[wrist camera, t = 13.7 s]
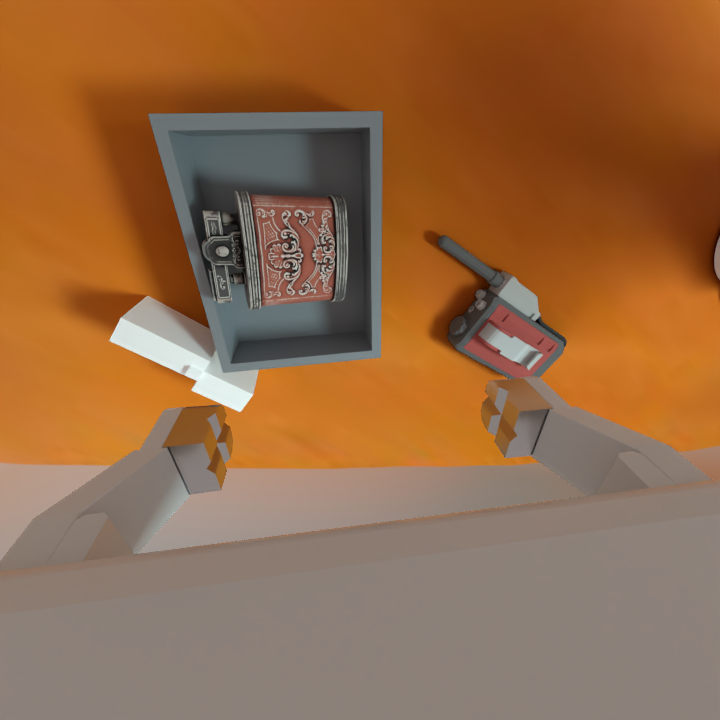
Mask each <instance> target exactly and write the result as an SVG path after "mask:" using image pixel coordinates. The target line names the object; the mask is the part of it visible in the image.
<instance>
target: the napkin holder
mask: <svg viewBox="0 0 720 720" xmlns="http://www.w3.org/2000/svg"><path fill="white" fill-rule="evenodd" d="M109 341H111V342H113V343H115V344H117V345H120V346H122V347H124V348H126V349H128V350H130V351H133V352H135V353H137V354H139V355H141V356H144V357H146V358H148V359H150V360H152V361H154V362H157V363H159V364H161V365H163V366H165V367H167V368H170V369H172V370H174V371H176V372H178V373H181V374H183V375H185V376H187V377H189V378H191V379H194V380H196V382H195V384H194V386H193V388H192V391H194V392H196V393H198V394H201V395H203V396H205V397H207V398H210V399H212V400H214V401H216V402H219V403H221V404H223V405H225V406H228V407H230V408H232V409H234V410H237V411H239V412H241V410H242V409H243V408H244V406H245V405H246V404H247V402H248V401H249V400H250V398H251V397H252V396H253V393H254V389H255V384H256V380H257V375H258V371H259V370H249V371H239V372H229V373H223V371H222V368H221V364H220V361H219V357H218V354H217V350H216V347H215V343H214V340H213V336H212V333H211V330H210V329H209V328H207V327H205V326H203V325H202V324H200V323H198V322H196V321H194V320H192V319H190V318H189V317H187V316H185V315H183V314H181V313H179V312H177V311H176V310H174V309H172V308H170V307H168V306H166V305H164V304H163V303H161V302H159V301H157V300H155V299H153V298H151V297H149V296H146V297H145V298H144V299H143V300H142V301H140V302H139V303H138V304H137V305H135V306H134V307H133V308H132V309H131V310H129V311H128V312H127V313H126V314H125V315H123V316H122V317H121V319H120V320H119V322H118V324H117V326H116V328H115V330H114V332H113V334H112V336H111V338H110V340H109Z"/></svg>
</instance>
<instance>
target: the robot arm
mask: <svg viewBox="0 0 720 720" xmlns="http://www.w3.org/2000/svg"><path fill="white" fill-rule="evenodd" d="M714 267H715V272H716V275H717V277H718V278H719V280H720V237H719V240H718V243H717V246H716V250H715V257H714ZM485 392H486V394H487V395H488V397H487V398H486V399H485V401H484V402H483V403H482V408H481V416H482V421H483V424H484V426H485V428H486V429H487V431H488V432H490V433H492V434H493V435H495V436H496V437H495V441H494V442H495V443H496V445H497V446H498V448H499V449H500V451H501V452H502V454H503V455H504V457H505V458H510V457H521V456H532V457H533V458H534V459H536V460H537V461H538V462H540V463H541V464H543V465H544V466H546V467H547V468H548V469H550V470H551V471H553V472H554V473H556V474H557V475H558V476H560V477H561V478H563V479H564V480H566V481H567V482H568V483H570V484H572V485H573V486H574V487H576V488H577V489H579V490H580V491H581V492H583V493H584V494H586V495H587V496H584V497H577V498H568V499H561V500H553V501H545V502H538V503H529V504H522V505H513V506H506V507H498V508H490V509H483V510H475V511H467V512H459V513H452V514H444V515H436V516H428V517H421V518H413V519H405V520H397V521H389V522H382V523H374V524H366V525H358V526H351V527H343V528H335V529H327V530H320V531H312V532H304V533H296V534H288V535H281V536H274V537H265V538H258V539H249V540H242V541H235V542H226V543H218V544H211V545H204V546H195V547H187V548H180V549H172V550H165V551H156V552H149V553H141V554H138V553H139V551H140V550H141V549H142V548H143V547H144V546H145V545H146V544H147V543H148V541H149V540H150V539H151V538H152V537H153V536H154V535H155V534H156V533H157V532H158V531H159V529H160V528H161V527H162V526H163V525H164V524H165V523H166V522H167V521H168V519H169V518H170V517H171V516H172V515H173V514H174V513H175V512H176V511H177V510H178V508H179V507H180V506H181V505H182V504H183V503H184V502H185V500H187V499H188V497H189V495H190V494H197V493H204V492H211V491H218V490H221V489H222V486H223V482H224V479H225V475H226V472H227V470H226V467H225V463H226V462H227V461H228V460H229V459H230V457H231V453H232V445H233V439H232V432H231V429H230V426H228V425H227V424H225V423H224V421H225V418H226V413H225V410H224V407H223V406H222V405H208V406H194V407H185V408H184V407H181V408H169V409H166V410H164V411H163V412H162V414H161V416H160V417H159V419H158V421H157V422H156V424H155V426H154V427H153V429H152V431H151V432H150V434H149V435H148V437H147V439H146V440H145V442H144V444H143V445H142V447H141V449H140V450H137V451H133V452H131V453H130V454H128V455H127V456H125V457H124V458H122V459H121V460H120V461H118V462H117V463H115V464H114V465H112V466H111V467H109V468H108V469H106V470H105V471H103V472H102V473H100V474H99V475H97V476H96V477H95V478H93V479H92V480H90V481H89V482H87V483H86V484H84V485H83V486H81V487H80V488H78V489H77V490H75V491H74V492H72V493H71V494H69V495H68V496H66V497H65V498H64V499H62V500H61V501H59V502H58V503H56V504H55V505H53V506H52V507H50V508H49V509H47V510H46V511H44V512H43V513H41V514H40V515H38V516H37V517H36V518H34V519H33V520H32V521H31V523H30V524H29V525H28V526H27V528H26V529H25V530H24V532H23V533H22V534H21V536H20V537H19V538H18V539H17V541H16V542H15V543H14V544H13V546H12V547H11V548H10V549H9V551H8V552H7V553H6V555H5V556H4V557H3V558H2V560H1V561H0V720H720V479H716V480H712V479H711V478H709V477H708V476H707V475H706V474H704V473H703V472H702V471H701V470H699V469H698V468H697V467H696V466H694V465H693V464H692V463H691V462H689V461H688V460H687V459H686V458H684V457H683V456H682V455H681V454H679V453H678V452H677V451H676V450H674V449H673V448H672V447H671V446H669V445H667V444H664V443H662V442H659V441H657V440H655V439H652V438H650V437H647V436H645V435H643V434H640V433H638V432H635V431H633V430H631V429H628V428H626V427H623V426H621V425H619V424H616V423H614V422H611V421H609V420H607V419H604V418H602V417H599V416H597V415H595V414H592V413H590V412H587V411H585V410H583V409H580V408H578V407H570V406H569V405H568V404H567V403H566V402H565V401H564V400H563V399H562V398H561V397H560V396H559V395H558V394H557V393H556V392H555V391H553V390H552V389H551V388H550V387H549V386H548V385H547V384H546V383H545V382H544V381H543V380H542V379H541V378H539V377H537V376H529V377H520V378H516V379H505V380H494V381H489V382H488V384H487V385H486V390H485Z"/></svg>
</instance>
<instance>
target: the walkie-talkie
mask: <svg viewBox="0 0 720 720" xmlns="http://www.w3.org/2000/svg"><path fill="white" fill-rule="evenodd" d="M438 245H439V246H440V247H441V248H442V249H444V250H445V251H447V252H448V253H449V254H451V255H452V256H454V257H455V258H456V259H458V260H459V261H461V262H462V263H464V264H465V265H466V266H468V267H469V268H471V269H472V270H473V271H475V272H476V273H478V274H479V275H480V276H482V277H483V278H485V279H486V282H488V283H489V284H491V286H490V287H489V288H488V289H486V290H481V289H479V290H478V291H476V293H475V296H476V297H477V298H476V300H475V301H474V302H473V303H472V305H471V306H470V307H469V309H468V310H467V311H466V312H465V314H464V315H463V316H458V317H456V318H455V319H454V320H453V321H452V322H451V324H450V327H449V332H450V333H449V334H448V335H447V337H448V340H449V341H450V342H451V343H452V344H453V347H454V348H455V349H456V350H458V351H459V352H461V353H464V354H466V355H468V356H469V357H470V358H472V359H474V360H475V361H478V362H480V363H482V364H484V365H485V366H486V365H487V366H488V367H489V368H491V369H492V370H493V369H494V370H495V371H497V372H498V373H501V375H504V376H505V377H507V378H508V379H516V378H520V377H529V376H537V377H540V376H541V375H542V374H543V373H544V372H545V371H546V370H547V369H548V368H549V367H550V366H551V365H552V364H553V363H554V362H555V361H556V360H557V359H558V358H559V357H560V356H561V355H562V353H563V351H564V347H565V346H566V343H567V341H566V339H565V338H564V337H563V336H561V335H560V334H559V333H557V332H556V331H554V330H553V329H552V328H550V327H549V326H547V325H546V324H545V323H543V322H542V320H541V317H540V315H541V314H540V313H539V310H538V298H537V296H536V295H535V294H534V293H532V292H531V291H530V290H528V289H527V288H526V287H524V286H523V285H522V284H520V283H519V282H518V280H517V278H515V277H514V276H513V275H511V274H509V273H507V272H505V271H502V272H501V273H499V272H498V271H496V270H492V269H491V268H490V267H488V266H487V265H485V264H484V263H483V262H481V261H480V260H479V259H477V258H476V257H475V256H473V255H472V254H470V253H469V252H468V251H466V250H465V249H464V248H462V247H461V246H460V245H458V244H457V243H455V242H454V241H453V240H451V239H450V238H449V237H447V236H445V235H444V236H441V237H439V239H438ZM535 320H536V322H537V323H536V322H535Z"/></svg>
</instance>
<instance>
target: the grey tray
mask: <svg viewBox="0 0 720 720" xmlns="http://www.w3.org/2000/svg"><path fill="white" fill-rule="evenodd" d="M148 116H149V119H150V123H151V126H152V130H153V133H154V137H155V140H156V144H157V147H158V150H159V154H160V157H161V161H162V164H163V168H164V171H165V175H166V178H167V181H168V185H169V188H170V192H171V195H172V199H173V202H174V206H175V209H176V212H177V216H178V219H179V223H180V226H181V230H182V233H183V237H184V240H185V243H186V247H187V250H188V254H189V257H190V261H191V264H192V268H193V271H194V274H195V278H196V281H197V285H198V288H199V292H200V295H201V299H202V302H203V305H204V309H205V312H206V316H207V319H208V323H209V326H210V330H211V333H212V336H213V340H214V343H215V347H216V350H217V354H218V357H219V361H220V364H221V368H222V371H223V373H229V372H239V371H249V370H259V369H269V368H279V367H290V366H300V365H310V364H320V363H330V362H340V361H350V360H361V359H371V358H381V274H382V151H383V111H348V112H261V113H175V114H148ZM234 191H247V192H248V194H254V195H279V196H304V197H327V196H328V195H340V196H342V197H343V198H344V200H345V203H346V209H347V227H348V265H347V281H346V291H345V297H344V299H343V300H342V301H335V302H331V301H329V300H323V301H313V302H302V303H291V304H281V305H270V306H261V308H260V309H253V310H250V309H249V307H248V304H247V300H246V295H245V288H244V284H235V285H234V283H230V289H231V296H232V302H227V303H218V302H217V301H214V299H213V293H212V287H211V281H210V275H209V269H212V266H211V261H209V260H207V259H206V258H205V256H204V254H203V250H202V242H203V241H204V240H205V239H206V238H207V236H206V230H205V223H204V217H203V210H209V211H219V212H227V213H230V214H235V206H234ZM230 230H237V226H236V225H231V226H228V227H222V233H223V234H228V232H229V231H230ZM227 268H228V275H232V273H242V268H236V267H235V266H234V265H227Z"/></svg>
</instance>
